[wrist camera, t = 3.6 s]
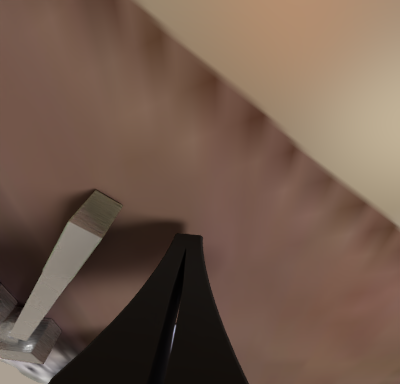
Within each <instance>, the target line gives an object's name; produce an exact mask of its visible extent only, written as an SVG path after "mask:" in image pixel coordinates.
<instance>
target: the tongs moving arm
mask: <svg viewBox="0 0 400 384" xmlns="http://www.w3.org/2000/svg"><path fill="white" fill-rule="evenodd" d="M122 207H123V206H122V205H121V204H119V203H117V202H116V201H114V200H112V199H110V198H109V197H107V196H105V195H104V194H102V193H100V192H98V191H97V190H95V192H94V193H93V194H92V195H91V196H90V197H89V198H88V199H87V201H86V202H85V203H84V204H83V205H82V206H81V207H80V208H79V210H78V211H77V212H76V213H75V214H74V215H73V216H72V218H71V219H70V220H69V221H68V223H67V224H66V226H65V228H64V230H63V232H62V234H61V236H60V238H59V240H58V242H57V244H56V245H55V247H54V249H53V251H52V253H51V255H50V257H49V259H48V261H47V263H46V264H45V266H44V268H43V272H42V274H41V276H40V278H39V280H38V282H37V284H36V285H35V287H34V289H33V291H32V293H31V295H30V297H29V299H28V300H27V302H26V304H25V306H24V308H23V307H14V309H13V310H12V311H11V312H10V314H9V315H8V316H7V317H6V319H5V320H4V321H3V322H2V324H1V325H0V342H2V343H6V344H12V345H15V344H17V343H18V342H19V340H23V341H27V340H28V338H29V337H30V336H31V334H32V333H33V331H34V330H35V329H36V327H37V326H38V325H39V323H40V322H41V320H42V319H43V318H44V316H45V315H46V314H47V312H48V311H49V309H50V308H51V307H52V305H53V304H54V303H55V301H56V300H57V298H58V297H59V296H60V294H61V293H62V292H63V290H64V289H65V287H66V286H67V285H68V283H69V282H71V281H72V279H73V278H74V277H75V275H76V274H77V272H78V271H79V270H80V268H81V267H82V266H83V264H84V263H85V262H86V260H87V259H88V257H89V256H90V255H91V253H92V252H93V251H94V249H95V248H96V247H97V245H98V244H99V242H100V241H101V240H102V238H103V237H104V235H105V234H106V232H107V230H108V229H109V227H110V226H111V224H112V222H113V221H114V219H115V218H116V216H117V214H118V213H119V211H120V210H121V208H122Z"/></svg>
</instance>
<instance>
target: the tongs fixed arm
mask: <svg viewBox="0 0 400 384" xmlns="http://www.w3.org/2000/svg"><path fill="white" fill-rule="evenodd" d="M17 304H18V302H17V301H16V300H15V299H14V297H13V296H12V295H11V294H10V293H9V292H8V291H7V290H6V289H5V288H4V286H3V285H2V284H1V283H0V325H1V324H2V322H3V321H4V320H5V319H6V317H7V316H8V315H9V314H10V312H11V311H12V310H13V309H14V307H15V306H16V305H17ZM61 332H62V331H61V329H60V328H59V327H58V326H57V324H56V323H55V322H54V321H53V319H47V318H43V319H42V320H41V322H40V323H39V325H38V326H37V327H36V329H35V330H34V331H33V333H32V334H31V336H30V337H29V338H28V340H27V341H23V340H19V342H18V343H17V344H15V345H12V344H6V343H2V342H0V357H1V358H2V359H8V360H16V361H23V362H30V363H38V364H44V362H45V360H46V359H47V357H48V355H49V353H50V352H51V350H52V348H53V346H54V345H55V343H56V341H57V339H58V337H59V336H60V334H61Z"/></svg>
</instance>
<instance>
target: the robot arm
mask: <svg viewBox="0 0 400 384" xmlns="http://www.w3.org/2000/svg"><path fill="white" fill-rule="evenodd" d="M180 301H181V302H180ZM179 306H180V307H179ZM178 310H179V313H178ZM177 314H178V318H177ZM176 318H177V323H176V325H175V322H176ZM48 384H249V383H248V381H247V379H246V377H245V375H244V373H243V371H242V368H241V366H240V364H239V362H238V360H237V357H236V355H235V353H234V350H233V348H232V346H231V343H230V341H229V338H228V336H227V333H226V331H225V329H224V326H223V323H222V321H221V318H220V315H219V312H218V309H217V306H216V303H215V300H214V297H213V294H212V290H211V287H210V283H209V279H208V275H207V271H206V266H205V261H204V254H203V237H202V236H200V235H190V234H180V233H177V234H176V235H175V237H174V239H173V241H172V243H171V245H170V247H169V248H168V250H167V252H166V254H165V255H164V257H163V258H162V260H161V261H160V263H159V264H158V266H157V268H156V269H155V270H154V272H153V273H152V275H151V276H150V277H149V279H148V280H147V281H146V283H145V284H144V285H143V287H142V288H141V289H140V291H139V292H138V293H137V294H136V295H135V297H134V298H133V299H132V300H131V301H130V303H129V304H128V305H127V306H126V307H125V308H124V309H123V310H122V312H121V313H120V314H119V315H118V316H117V317H116V318H115V319H114V320H113V321H112V322H111V323H110V324H109V325H108V326H107V327H106V328H105V329H104V330H103V331H102V332H101V333H100V334H99V335H98V336H97V337H96V338H95V339H94V340H93V341H92V342H91V343H90V344H89V345H88V346H87V347H86V348H85V349H84V350H83V351H82V352H81V353H80V354H78V355H77V356H76V357H75V358H74V359H73V360H72V361H71V362H70V363H68V364H67V365H66V366H65V367H64V368H63V369H62V370H61V371H59V372H58V373H57V374H56V375H55V376H54V377H53V378H52V379H51V380H50V382H49V383H48Z"/></svg>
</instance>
